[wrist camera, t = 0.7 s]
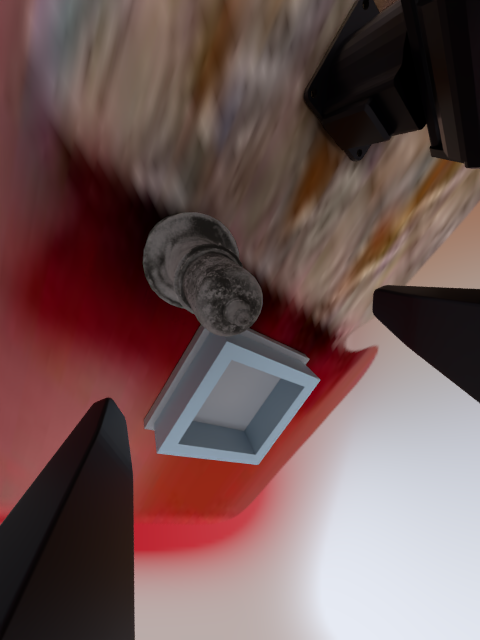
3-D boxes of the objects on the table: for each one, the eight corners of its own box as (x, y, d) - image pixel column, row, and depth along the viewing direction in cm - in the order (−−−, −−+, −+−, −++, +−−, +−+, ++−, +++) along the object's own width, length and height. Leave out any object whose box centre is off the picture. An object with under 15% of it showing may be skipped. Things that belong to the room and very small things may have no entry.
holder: (209, 309, 21) (224, 331, 18) (304, 353, 27) (328, 376, 24) (143, 420, 23) (146, 458, 20) (244, 438, 30) (259, 469, 26)
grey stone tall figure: (156, 300, 19) (183, 416, 9) (127, 218, 16) (122, 256, 6) (228, 280, 21) (321, 361, 11) (214, 201, 18) (322, 210, 8)
